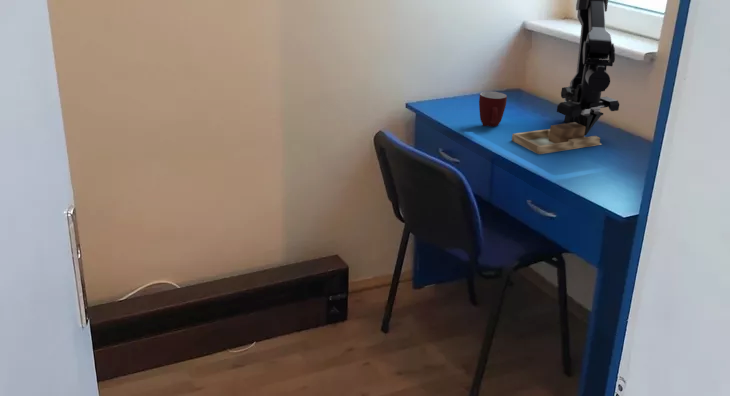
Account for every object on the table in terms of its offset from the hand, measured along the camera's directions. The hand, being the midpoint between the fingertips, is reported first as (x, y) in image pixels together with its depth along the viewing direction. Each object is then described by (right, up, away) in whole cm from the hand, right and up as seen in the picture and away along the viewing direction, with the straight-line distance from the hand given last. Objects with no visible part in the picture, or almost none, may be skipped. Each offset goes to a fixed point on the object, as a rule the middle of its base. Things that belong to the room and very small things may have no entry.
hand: (583, 135), depth 214 cm
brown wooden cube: (-8, -2, -3) cm, 9 cm away
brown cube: (-4, -2, -1) cm, 4 cm away
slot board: (-9, -3, -3) cm, 10 cm away
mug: (-25, +3, +9) cm, 27 cm away
